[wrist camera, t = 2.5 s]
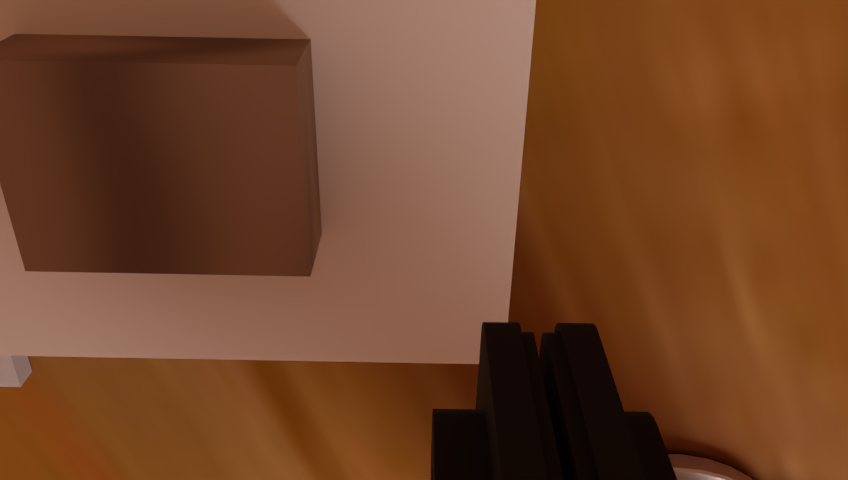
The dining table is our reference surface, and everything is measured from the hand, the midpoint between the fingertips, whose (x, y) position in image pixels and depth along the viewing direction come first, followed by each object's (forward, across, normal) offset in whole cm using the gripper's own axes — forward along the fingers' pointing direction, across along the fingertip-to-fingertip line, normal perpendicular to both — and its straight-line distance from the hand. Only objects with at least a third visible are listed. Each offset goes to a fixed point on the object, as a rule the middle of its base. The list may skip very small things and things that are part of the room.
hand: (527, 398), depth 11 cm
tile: (+12, +9, +1) cm, 14 cm away
